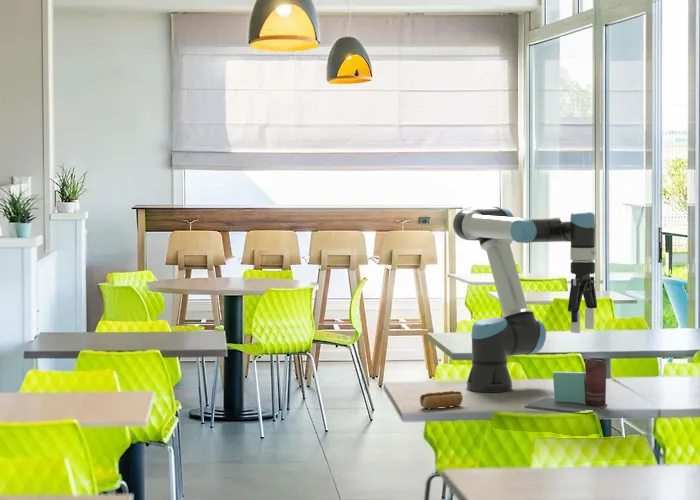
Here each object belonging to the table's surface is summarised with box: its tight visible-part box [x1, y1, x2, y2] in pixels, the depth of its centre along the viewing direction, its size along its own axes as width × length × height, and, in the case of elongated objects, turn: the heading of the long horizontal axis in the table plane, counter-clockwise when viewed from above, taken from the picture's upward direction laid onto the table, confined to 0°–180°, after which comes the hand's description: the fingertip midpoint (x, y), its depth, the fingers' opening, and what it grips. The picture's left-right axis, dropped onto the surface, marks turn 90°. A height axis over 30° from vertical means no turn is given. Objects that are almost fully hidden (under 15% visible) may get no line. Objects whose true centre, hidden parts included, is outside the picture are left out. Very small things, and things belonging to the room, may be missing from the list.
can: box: [584, 357, 607, 407], centre depth 325 cm, size 6×6×14 cm
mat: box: [524, 397, 608, 413], centre depth 327 cm, size 20×16×1 cm
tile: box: [552, 371, 586, 403], centre depth 330 cm, size 10×2×9 cm, turn 56°
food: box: [419, 390, 464, 409], centre depth 327 cm, size 14×6×5 cm, turn 114°
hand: (582, 330), depth 337 cm, fingers open, 11 cm apart
